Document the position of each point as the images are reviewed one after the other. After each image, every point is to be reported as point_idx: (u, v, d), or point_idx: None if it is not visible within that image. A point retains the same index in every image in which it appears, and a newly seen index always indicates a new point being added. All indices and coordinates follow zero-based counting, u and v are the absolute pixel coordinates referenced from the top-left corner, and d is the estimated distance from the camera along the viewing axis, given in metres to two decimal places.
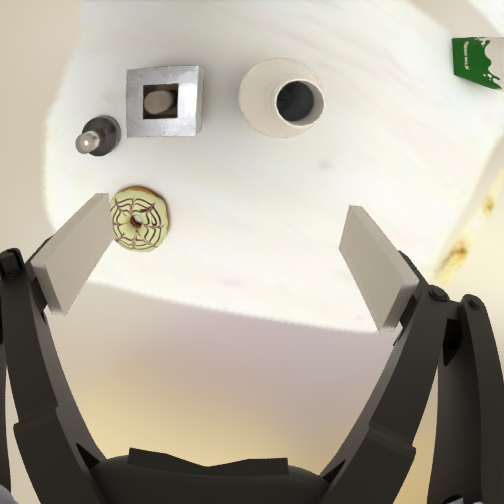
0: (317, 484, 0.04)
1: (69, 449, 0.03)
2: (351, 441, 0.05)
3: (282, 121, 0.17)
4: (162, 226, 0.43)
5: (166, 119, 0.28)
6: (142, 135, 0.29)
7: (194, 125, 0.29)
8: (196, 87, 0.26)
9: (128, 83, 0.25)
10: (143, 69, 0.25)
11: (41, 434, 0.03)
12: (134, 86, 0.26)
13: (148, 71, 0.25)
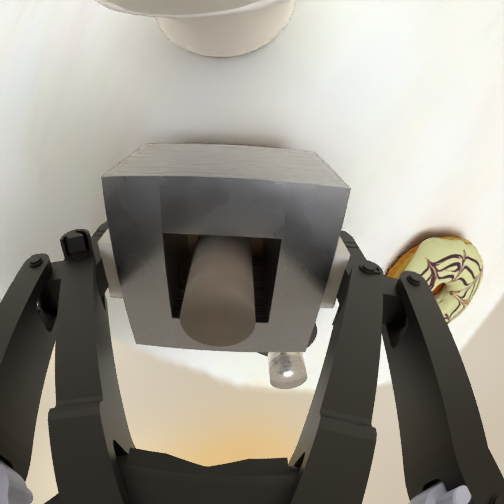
0: (283, 481, 0.04)
1: (105, 448, 0.04)
2: (308, 431, 0.06)
3: None
4: (464, 252, 0.19)
5: (279, 268, 0.10)
6: (311, 324, 0.12)
7: (314, 187, 0.09)
8: (175, 177, 0.08)
9: (168, 344, 0.12)
10: (130, 314, 0.11)
11: (78, 426, 0.04)
12: (175, 334, 0.12)
13: (133, 304, 0.11)
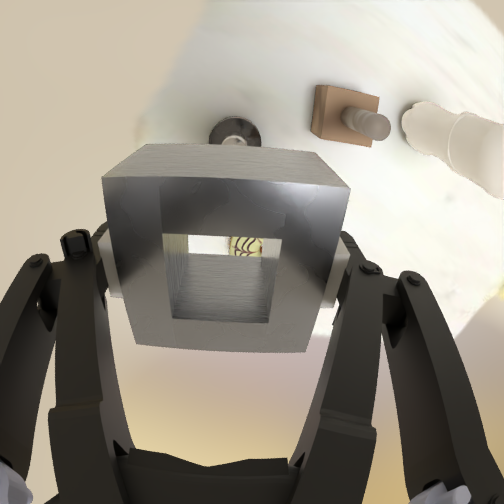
0: (283, 481, 0.04)
1: (105, 447, 0.04)
2: (308, 431, 0.06)
3: None
4: None
5: (279, 268, 0.10)
6: (311, 324, 0.12)
7: (315, 188, 0.09)
8: (175, 178, 0.08)
9: (168, 344, 0.12)
10: (130, 315, 0.11)
11: (78, 426, 0.04)
12: (175, 334, 0.12)
13: (133, 305, 0.11)
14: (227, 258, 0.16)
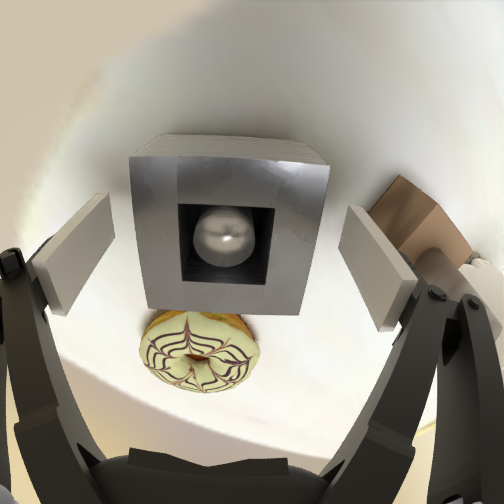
0: (317, 484, 0.04)
1: (69, 449, 0.03)
2: (350, 441, 0.05)
3: None
4: (240, 381, 0.25)
5: (274, 234, 0.13)
6: (302, 287, 0.14)
7: (301, 165, 0.11)
8: (190, 157, 0.11)
9: (177, 307, 0.15)
10: (145, 279, 0.14)
11: (41, 434, 0.03)
12: (184, 297, 0.14)
13: (148, 269, 0.13)
14: None
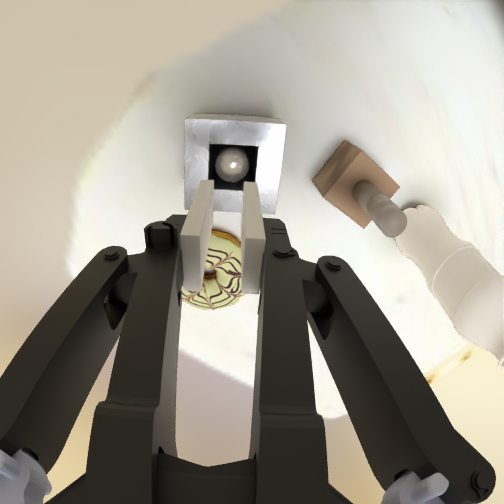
0: (243, 486, 0.04)
1: (149, 455, 0.04)
2: (254, 429, 0.06)
3: None
4: (239, 295, 0.36)
5: (258, 160, 0.23)
6: (275, 193, 0.25)
7: (271, 124, 0.21)
8: (216, 120, 0.21)
9: None
10: (186, 188, 0.24)
11: (125, 427, 0.04)
12: None
13: (189, 182, 0.24)
14: None
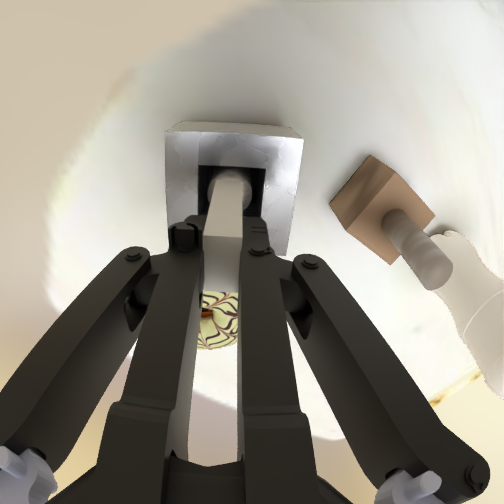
0: (232, 489, 0.04)
1: (161, 459, 0.04)
2: (240, 430, 0.06)
3: None
4: None
5: (265, 188, 0.17)
6: (287, 230, 0.19)
7: (283, 139, 0.16)
8: (208, 133, 0.15)
9: None
10: (169, 224, 0.18)
11: (139, 430, 0.04)
12: None
13: (173, 215, 0.18)
14: None
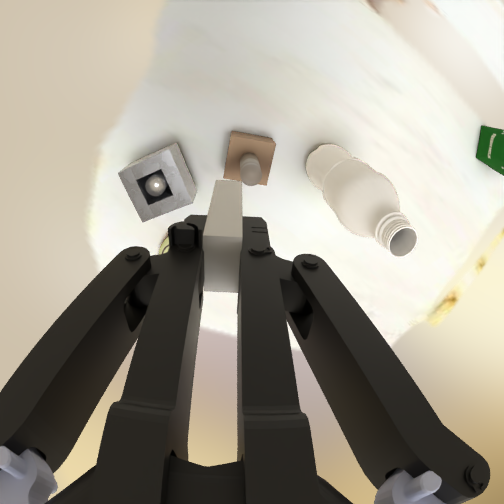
0: (232, 489, 0.04)
1: (161, 459, 0.04)
2: (240, 430, 0.06)
3: (383, 246, 0.23)
4: None
5: (165, 176, 0.36)
6: (185, 190, 0.37)
7: (161, 153, 0.34)
8: (133, 166, 0.35)
9: (151, 217, 0.39)
10: (137, 210, 0.38)
11: (139, 430, 0.04)
12: (151, 211, 0.38)
13: (136, 205, 0.38)
14: (168, 188, 0.42)
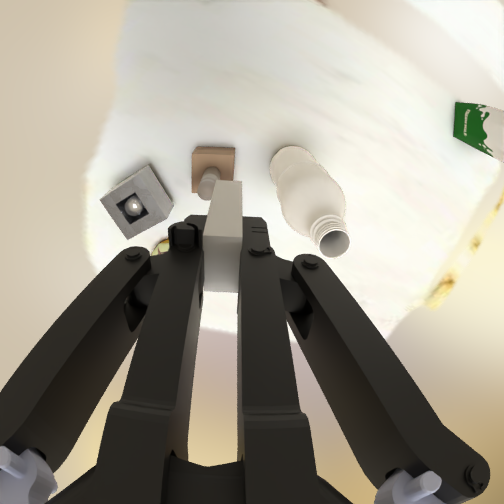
0: (232, 489, 0.04)
1: (161, 459, 0.04)
2: (240, 430, 0.06)
3: (320, 248, 0.26)
4: None
5: (140, 198, 0.40)
6: (159, 208, 0.41)
7: (132, 178, 0.38)
8: (111, 192, 0.39)
9: (134, 234, 0.43)
10: (121, 230, 0.42)
11: (139, 430, 0.04)
12: (133, 229, 0.43)
13: (120, 226, 0.42)
14: None
